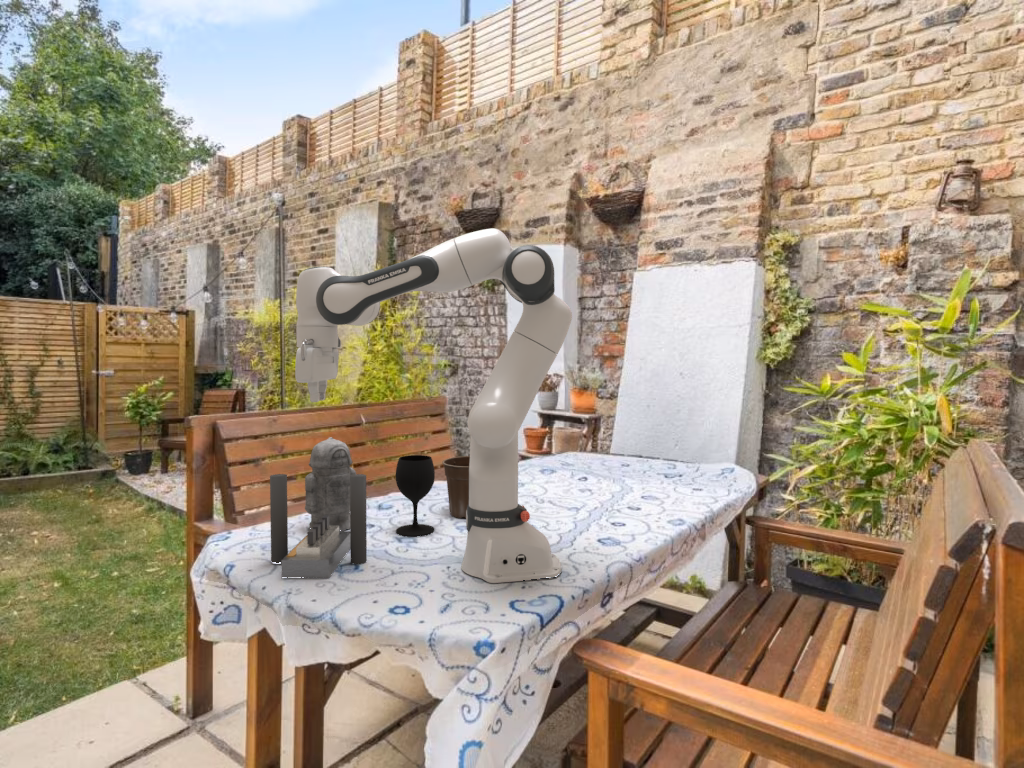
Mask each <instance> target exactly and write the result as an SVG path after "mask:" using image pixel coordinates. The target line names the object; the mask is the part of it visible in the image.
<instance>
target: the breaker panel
mask: <svg viewBox="0 0 1024 768" xmlns="http://www.w3.org/2000/svg"><path fill="white" fill-rule="evenodd" d="M349 549H350V530H349V531H348V530H344V531H339V526H329V528H328V529H325V532H324V533H323V534H321V536H320V537H319V539H316V542H315V543H314V544H308V543H307V534H306V535H305V536H304V538H302V539H301V540H300V541H299V542H298V543H297V544H296V545H295V546H294V547H292V549H291V550H290V551H288V554H287V555H286V556H285V557H284V558H283V559H282V560H281V564H280V565H281V566H280V568H281V572H280V573H281V578H282V577H287V578H288V577H301V578H300V579H330V578H331V577H332V575H333V574H332V573H334V572H335V571H336V570H337V568H338V567H337V566H339V565H340V564H341V562H342V561H343V560H344V558H345V557H346V556H347V554H348V553H349V551H350V550H349ZM348 550H349V551H348ZM347 552H348V553H347ZM346 553H347V554H346ZM345 555H346V556H345ZM344 556H345V557H344ZM343 557H344V558H343ZM342 559H343V560H342ZM341 560H342V561H341ZM340 561H341V562H340ZM339 563H340V564H339ZM338 564H339V565H338ZM336 567H337V568H336ZM334 570H335V571H334ZM331 574H332V575H331ZM302 577H304V578H302ZM329 577H330V578H329Z"/></svg>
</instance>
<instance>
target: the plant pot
mask: <svg viewBox="0 0 1024 768" xmlns="http://www.w3.org/2000/svg"><path fill="white" fill-rule="evenodd" d="M469 463H470V455H465V456H452V457H449V458H446V459H444V460H443V461H442V463H441V464H443V469H444V475H445V477H446V486H447V487H446V488H447V496H448V497H447V498H448V508H449V509H448V510H449V515H450V516H451V517H453V516H454V518H456V519H462V518H465V519H466V510H467V505H468V504H469Z"/></svg>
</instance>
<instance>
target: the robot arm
mask: <svg viewBox="0 0 1024 768" xmlns="http://www.w3.org/2000/svg"><path fill="white" fill-rule="evenodd" d="M487 280H488V281H489V280H499V283H501V284H502V286H503V287H504V288H505V289H506V291H507V292H508V294H509V295H510V296H511V297H512V298H513V299H514V300H516V301H517V302H519V303H521V304H522V307H523V308H522V313H521V315H520V318H519V321H518V322H517V324H516V325H515V327H514V329H513V331H512V333H511V334H510V337H509V338H508V341H507V343H506V345H505V347H504V348H503V350H502V351H501V354H500V356H499V357H498V360H497V361H496V363H495V365H494V367H493V369H492V370H491V372H490V375H489V376H488V378H487V380H486V381H485V383H484V385H483V387H482V389H481V390H480V392H479V395H478V396H477V398H476V400H475V402H474V404H473V406H472V407H471V410H470V411H469V414H468V417H467V429H468V432H469V434H470V437H469V438H470V441H469V443H470V444H469V456H470V463H469V504H468V505H467V510H466V518H465V519H466V520H465V523H466V524H465V525H466V526H465V527H466V531H467V534H466V535H467V538H466V544H465V551H464V555H463V559H462V563H461V564H460V565H461V567H460V569H461V570H462V572H464V573H465V574H467V575H469V576H472V577H476V578H479V579H482V580H484V581H485V582H487V583H489V584H497V583H498V584H499V583H501V584H502V583H508V582H509V583H510V582H523V580H525V581H532V580H531V579H537V580H540V579H539V578H546V577H555V576H557V575H558V574H560V572H561V573H562V562H561V561H560V558H558V557H557V556H556V555H555V554H553V553H552V548H551V544H550V542H549V539H548V538H547V536H546V535H545V534H544V533H543V532H541V531H540V530H539V529H537V528H536V527H535V526H533V525H532V524H531V523H529V520H530V518H531V515H530V512H529V511H528V509H527V508H526V507H525V505H523V504H522V505H521V504H519V431H520V429H521V427H522V425H523V423H524V421H525V419H526V416H527V414H528V413H529V411H530V408H531V406H532V404H533V402H534V401H535V398H536V397H537V394H538V393H539V392H538V391H539V390H540V387H541V386H542V384H543V382H544V380H545V379H546V376H547V375H548V373H549V371H550V370H551V367H552V366H553V363H554V362H555V360H556V358H557V356H558V354H559V352H560V351H561V348H562V346H563V343H564V342H565V339H566V337H567V335H568V331H569V329H570V325H571V322H572V319H573V312H572V310H571V308H570V306H569V305H568V303H566V301H564V300H563V299H562V298H560V297H558V296H557V295H555V267H554V262H553V260H552V257H551V256H550V255H549V254H548V252H547V251H545V250H544V249H543V248H541V247H539V246H536V245H532V244H527V245H521V246H519V247H516V248H515V249H514V248H513V246H512V245H511V242H510V240H509V239H508V237H507V236H506V234H505V233H504V232H503V231H502V230H500V229H498V228H493V227H492V228H486V229H485V228H484V229H480V230H476V231H473V232H472V231H471V232H467V233H465V234H462V235H459V236H457V237H456V236H455V237H454V238H451V239H448V240H446V241H444V242H442V243H439V244H438V245H435V246H433V247H431V248H429V249H427V250H426V251H423V252H421V253H419V254H417V255H415V256H413V257H410V258H408V259H405V260H403V261H400V262H397V263H395V264H392V265H388V266H386V267H383V268H379V269H377V270H374V271H371V272H367V273H364V274H362V275H350V276H349V275H342V274H340V273H339V272H338V271H336V270H335V269H334V268H333V267H329V266H313V267H309V268H305V269H304V270H302V271H301V272H299V275H298V278H297V283H296V284H297V285H296V296H295V300H296V301H295V307H296V310H297V321H296V327H295V328H296V330H295V331H296V335H295V336H296V348H297V350H296V353H295V367H294V369H295V371H294V376H295V380H296V383H303V384H305V383H306V384H307V388H308V391H309V401H310V402H311V403H318V402H320V401H322V402H323V401H325V399H326V392H327V388H328V381H331V380H336V379H337V376H338V372H339V358H340V357H339V355H340V354H339V353H340V352H339V349H342V348H341V347H342V341H341V338H340V337H339V334H338V333H339V331H338V326H343V325H348V326H356V327H357V326H358V327H359V326H360V327H361V326H366V325H368V324H370V323H372V322H373V321H375V320H376V319H377V317H378V315H379V313H380V311H381V303H382V302H384V301H388V300H391V299H392V298H395V297H398V296H401V295H404V294H408V293H412V292H430V293H431V292H433V293H438V294H441V293H442V294H445V293H453V292H456V291H461V290H464V289H468V288H469V287H472V286H475V285H477V284H480V283H482V282H485V281H487ZM560 575H561V574H560Z"/></svg>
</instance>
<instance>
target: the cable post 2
mask: <svg viewBox="0 0 1024 768" xmlns="http://www.w3.org/2000/svg"><path fill="white" fill-rule="evenodd" d="M349 531H350V550H349V551H350V555H349V556H350V564H352V563H354V564H353V565H362V564H361V563H363V564H366V563H367V562H366V561H367V558H368V557H367V548H368V547H367V545H368V544H367V543H368V541H367V531H368V530H367V474H363V473H361V474H360V473H358V474H357V473H356V474H355V475H351V476H350V529H349Z"/></svg>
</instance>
